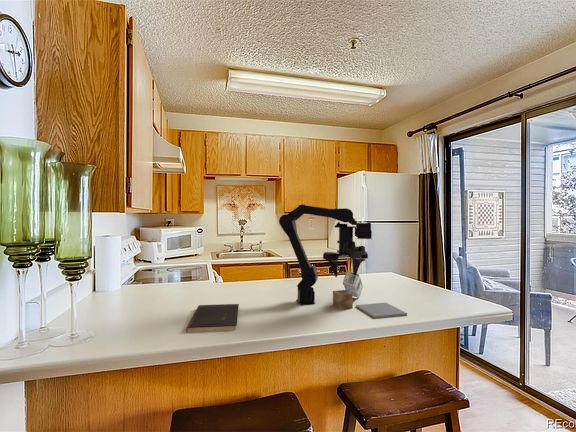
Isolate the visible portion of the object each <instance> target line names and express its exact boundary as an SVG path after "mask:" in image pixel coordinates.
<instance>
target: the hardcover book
mask: <svg viewBox="0 0 576 432" xmlns="http://www.w3.org/2000/svg"><path fill="white" fill-rule="evenodd" d="M239 307H240V305H239V303H229V304H227V303H226V304H225V303H223V304H199V305H198V306H197V308H196V310H195V311H194V313H193V315H192V317H191V319H190V321H189V323H188V325H187V326H186V329H185V333H195V332H197V333H199V332H217V331H236V330H237V325H238V316H239V315H238V314H239Z"/></svg>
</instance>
